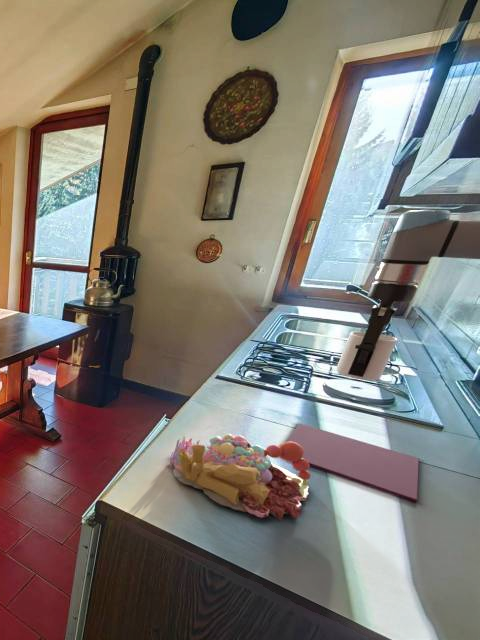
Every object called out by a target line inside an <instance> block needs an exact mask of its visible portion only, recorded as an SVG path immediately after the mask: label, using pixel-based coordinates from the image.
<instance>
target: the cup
mask: <svg viewBox="0 0 480 640" xmlns="http://www.w3.org/2000/svg"><path fill="white" fill-rule="evenodd" d="M365 333H366V331H351V332H350V333H349V335H348V338H347V340H346V343H345V345H344V348H343V350H342V352H341V356H340V358H339V361H338V362H337V365H336V368H335V369H336V373H338V374H340V375H342V376H345V377H348V378H351V379H357V380H362V381H378V380H380V379H381V378H382V376H383V374H384V371H385V369H386V367H387V365H388V363H389V361H390V358H391V357H392V353H393V351H394V349H395V347H396V345H397V342H398V340H399V339H398V338H397V337H395V336H391V335H389V334H384V333H382V334H380V337H379V339H378V341H377V343H376V346H375V347H376V348H375V350H373V351H374V353H373V355H372V357H371V359H370V362H369V364H368V366H367V369H366V371H365V373H364V376H363V377H360V376H355V375H350V374H348V372H349V370H350V368H351V365H352V363H353V360H354V358H355V356H356V353H357V351H358V349H356V348H355V346H356V345H360V344H361V342H362V340H363V338H364V335H365Z"/></svg>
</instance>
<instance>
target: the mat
mask: <svg viewBox="0 0 480 640" xmlns="http://www.w3.org/2000/svg"><path fill="white" fill-rule="evenodd" d="M289 441H291V442H295V443H297V444H299V445H300V446H301V447H302V449H303V451H304V455H303V457H302V458H304V459H306V460H307V461H308V462H309V464H310V467H312V468H316V469H318V470H322V471H325V472H327V473H331V474H333V475H335V476H339V477H341V478H344V479H348V480H351V481H354V482H357V483H360V484H362V485H365V486H368V487H371V488H373V489H377V490H379V491H382V492H385V493H388V494H391V495H394V496H397V497H400V498H403V499H406V500H409V501H411V502H414V503H417V501H418V489H419V487H418V485H419V463H420V458H419V457H416V456H412V455H409V454H405V453H402V452H399V451H395V450H392V449H389V448H386V447H382V446H379V445H376V444H371V443H368V442H365V441H361V440H357V439H355V438H351V437H348V436H344V435H341V434H339V433H338V434H337V433H333V432H330V431H328V430H324V429H320V428H317V427H314V426H310V425H307V424H303V423H298V424H297V426H296V427H295V428H294V430H293V431H292V433H291V434H290V436H289V438H288V439H287V441H286V442H289Z"/></svg>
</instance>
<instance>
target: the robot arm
mask: <svg viewBox="0 0 480 640" xmlns="http://www.w3.org/2000/svg"><path fill="white" fill-rule="evenodd" d="M432 258H449V259H450V258H451V259H467V260H480V220H479V219H478V220H473V219H472V220H459V219H456V220H455V219H451V211H450V210H447V209H439V210H438V209H436V210H435V209H420V210H417V209H416V210H415V209H414V210H408V211H405V212H403V213H402V214H401V215H400V216H399V218H398V220H397V222H396V224H395V226H394V229H393V231H392V232H391V235H390V238H389V241H388V243H387V246H386V248H385V250H384V254H383V255H382V259H381V262H380V264H379V265H377V266H375V267H374V271H375V272H376V271H377V272H376V273H375V277H374V280H376V281H373V282H372V283H371V285H370V288H369V290H368V293H367V297H368V299H370V300H371V299H372V300H378V301H379V304H378V305H373V307H372V309H371V311H370V316H369V319H368V321H367V325H368V326H367V329H366V331H365V332H366V333H365V335H364V338H363V340H362V342H361V344H360V345H356V346H355V348H356V349H358V351H357V353H356V356H355V358H354V360H353V363H352V365H351V368H350V370H349V372H348V374H350V375H355V376H360V377H363V376H364V373H365V371H366V369H367V366H368V364H369V362H370V359H371V357H372V355H373V353H374V351H373V350H375V348H376V347H375V346H376V343H377V341H378V339H379V337H380V334H383V332H384V331H385V327H388V326H389V323H390V322H391V320H392V318H393V317H394V316H395V314H396V311H397V309H398V308H397V307H395V306H396V302H398V303H408V302H412V301H413V299H414V297H415V294H416V292H417V290H418V289H419V286H418V285H416V284H419V283H421V282H422V280H423V278H424V277H425V276H424V275H425V273H426V270H427V269H428V266H429V264H430V261H431V259H432Z"/></svg>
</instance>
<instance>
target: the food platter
mask: <svg viewBox="0 0 480 640" xmlns="http://www.w3.org/2000/svg"><path fill="white" fill-rule="evenodd" d="M180 440H181V439H180V438H179V439H177V440H176V444H175V448H174V450H173V451H172V453H171V456H170V460H169V461H170V466H172V465H173V467H174V469H173V470H172V474H173V476H174V478H176V479H177V480H178V482H181V483H182V484H184V485H187V486H191V487H193V488H195V489H199V490H202V491H203V494H204V495H206V496H208V498H209V499H210V500H212V501H214V502H215V503H217V504H219V505H221V506H225V507H228V508H231V509H233V510H236V511H241V512H244V513H245V512H248V513H249V514H251V515H255V516H256V517H258V518H260V519H261V518H266V517H268V516H269V515H270V514H271V515H272V516H274V517H275V518H276V519H277V520H279V521H280V522H282V520H283V517H284V514H287V515H290V516H291V517H292V518H293V519H297V518H298V517H299V516H300V515H301V514H302V513H303V511H302V510H301V507H302V503H301V501H302V502H305V501H306V499H307V498H308V496H309V495H310V494H309V492H308V491H309V485H308V484H309V482H310V481H309V480H310V478H311V476H312V475H311V473H310V472H309V469H310V467H311V466H310V464H309V462H308V461H307V460H306V459H304V458H302V457H303V455H304V451H303V449H302V447H301V446H300V445H299V444H297V443H295V442H291V441H289V442H287V441H284V442H282V443H281V444H279V445H277V444H269V445H268V446H267V447H266V449H265V448H263V447H262V446H260V445H258V444H250V442H248V440H247V439H246V437H244V436H243V435H233V434H230V433H226V434H224V436H223V437H221V436H219V435H216V436H212V437H211V438H209V444H207V445H206V446H205V445H201V443H200V440H198V441H196V444H195V443H193V444H192V441H193V437H191V438H189V439H188V440H186V436H185V435H184V436H183V438H182V440H181V441H180ZM199 443H200V444H199ZM269 457H270V458H273V459H276V458H277V459H278V458H281V459H282V460H283V461H285V462H290V463H291V464H292V469H294V470H295V471H297V472H298V473H297V475H298V476H297V475H296V474H295V473H292V472H291V471H289V470H287V469H286V468H283V467H281V466H279V465H277V464H274V463H272V461H271V459H270V458H269Z"/></svg>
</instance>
